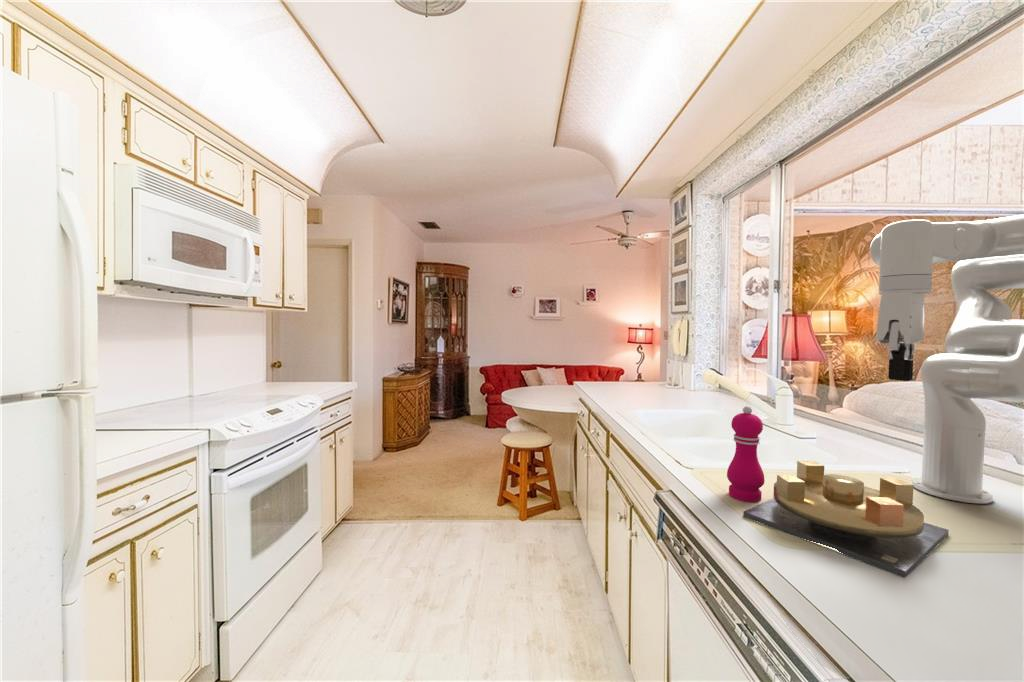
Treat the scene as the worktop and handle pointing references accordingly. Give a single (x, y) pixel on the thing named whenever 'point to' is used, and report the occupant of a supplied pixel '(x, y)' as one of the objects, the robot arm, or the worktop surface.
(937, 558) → the worktop surface
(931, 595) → the worktop surface
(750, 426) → the pepper mill
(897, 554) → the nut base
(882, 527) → the brass lugged disc
